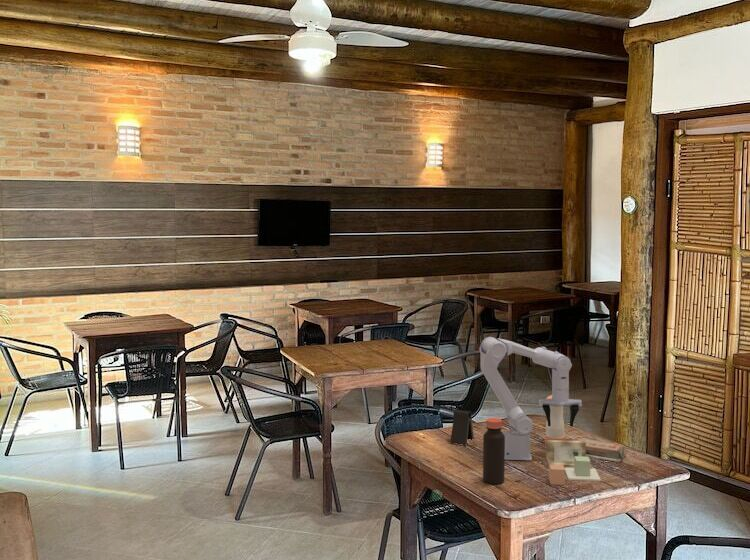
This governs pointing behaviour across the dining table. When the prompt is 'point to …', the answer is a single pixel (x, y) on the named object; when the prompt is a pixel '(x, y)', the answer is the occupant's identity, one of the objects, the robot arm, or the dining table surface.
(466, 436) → the phone stand
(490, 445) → the bottle
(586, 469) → the sage block
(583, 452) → the beige box
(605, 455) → the packaged product
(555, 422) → the pepper shaker
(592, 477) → the mat
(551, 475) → the terracotta block
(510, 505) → the dining table surface
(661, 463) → the dining table surface
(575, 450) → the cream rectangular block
